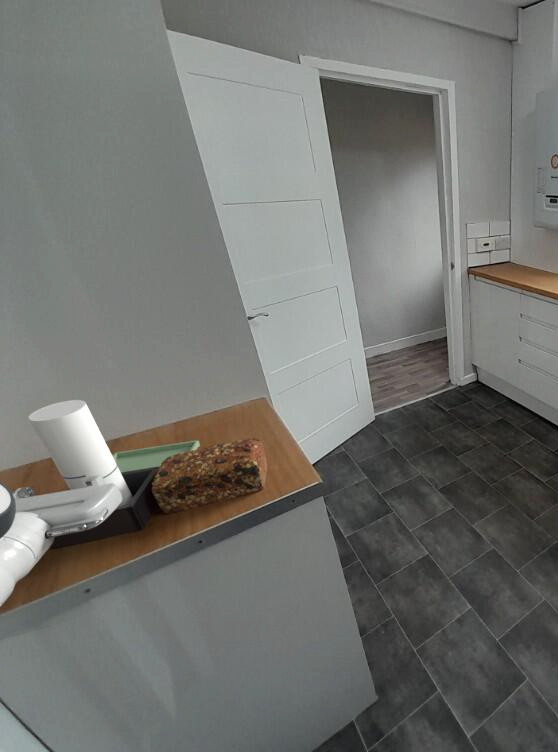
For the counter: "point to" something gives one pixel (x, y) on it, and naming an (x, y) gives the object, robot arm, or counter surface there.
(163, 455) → the tray
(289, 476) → the counter surface
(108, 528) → the basket
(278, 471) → the counter surface
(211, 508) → the counter surface
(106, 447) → the cylindrical container
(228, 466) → the bread
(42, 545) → the robot arm
